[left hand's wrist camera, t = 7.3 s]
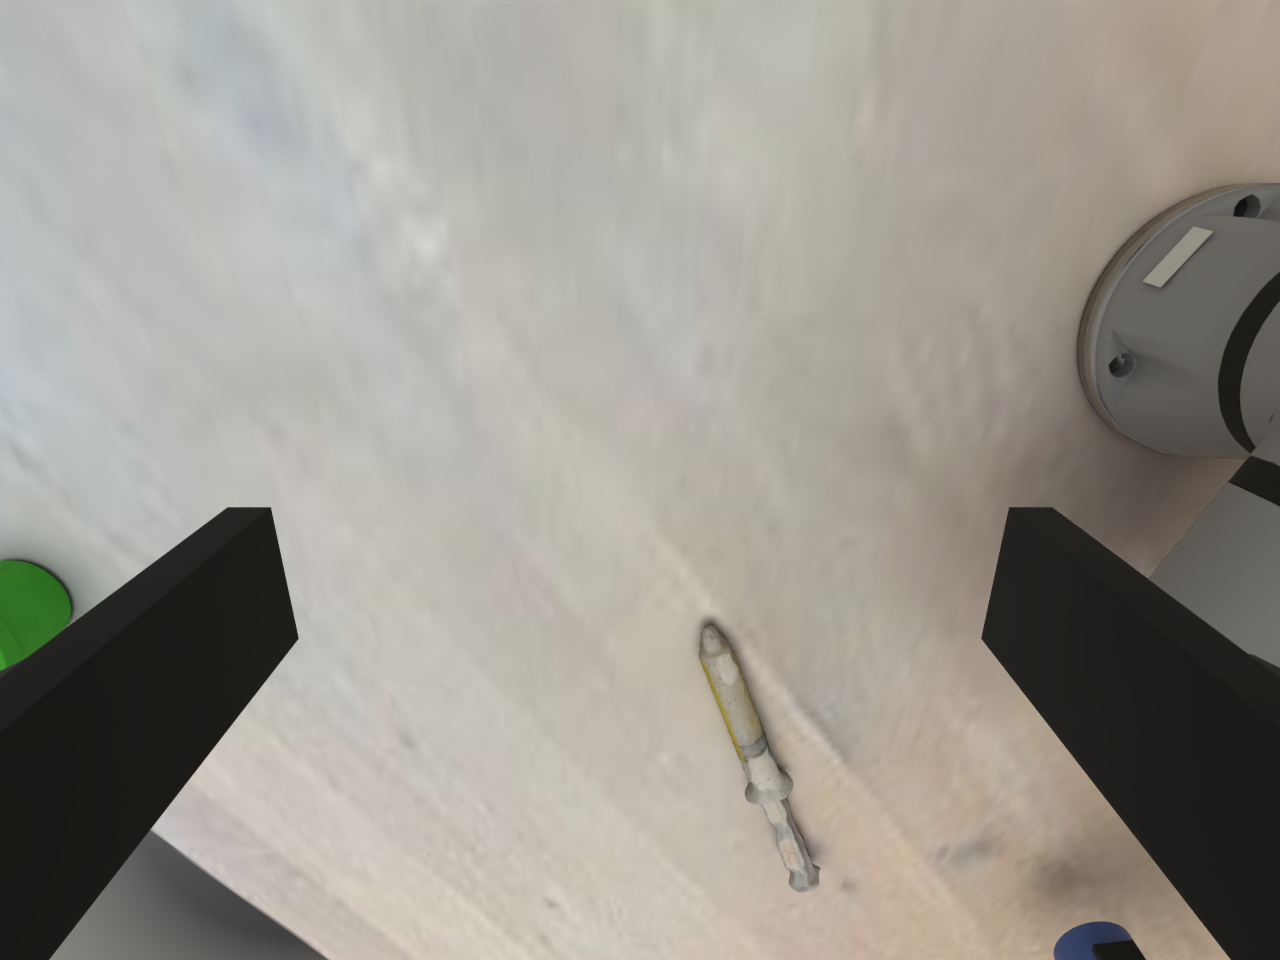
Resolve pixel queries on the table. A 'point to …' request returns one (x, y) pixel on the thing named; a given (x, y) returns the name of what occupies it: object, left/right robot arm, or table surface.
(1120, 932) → the can
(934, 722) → the table surface
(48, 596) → the potted flower
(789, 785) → the syringe
